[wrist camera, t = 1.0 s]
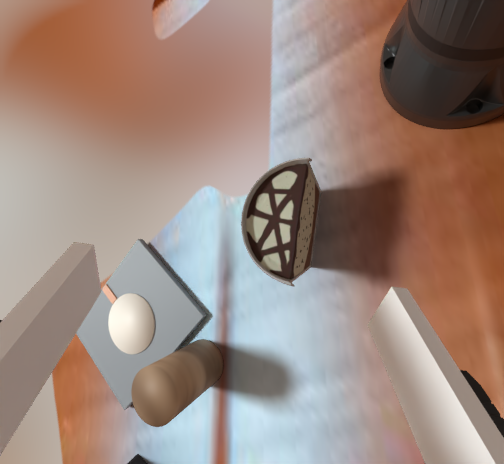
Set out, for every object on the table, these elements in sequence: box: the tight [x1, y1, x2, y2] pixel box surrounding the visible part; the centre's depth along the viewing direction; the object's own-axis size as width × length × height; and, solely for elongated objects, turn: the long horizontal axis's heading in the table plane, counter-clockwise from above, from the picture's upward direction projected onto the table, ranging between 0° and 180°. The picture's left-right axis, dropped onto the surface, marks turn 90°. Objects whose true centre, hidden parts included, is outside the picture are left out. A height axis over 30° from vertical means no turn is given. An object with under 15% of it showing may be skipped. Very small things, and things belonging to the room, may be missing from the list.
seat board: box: [76, 239, 207, 410], centre depth 43 cm, size 20×16×1 cm
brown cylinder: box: [131, 339, 223, 427], centre depth 34 cm, size 6×6×10 cm
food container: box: [241, 158, 321, 286], centre depth 31 cm, size 12×6×10 cm, turn 173°
